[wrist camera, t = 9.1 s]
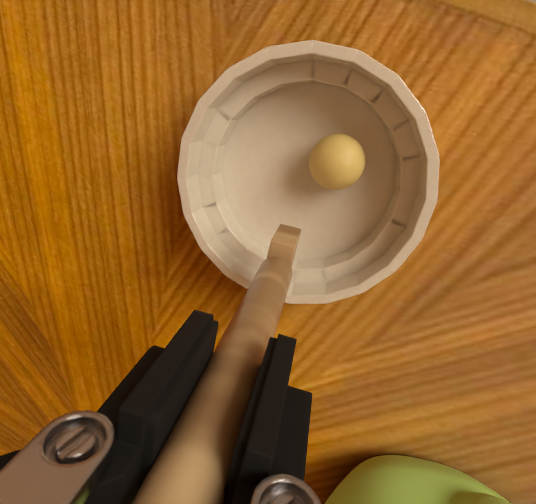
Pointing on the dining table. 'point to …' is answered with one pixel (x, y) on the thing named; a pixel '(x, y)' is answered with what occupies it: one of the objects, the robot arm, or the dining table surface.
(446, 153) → the dining table surface
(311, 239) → the bowl
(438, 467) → the teapot
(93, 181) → the dining table surface
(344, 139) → the ball
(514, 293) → the dining table surface
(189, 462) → the stirring stick
